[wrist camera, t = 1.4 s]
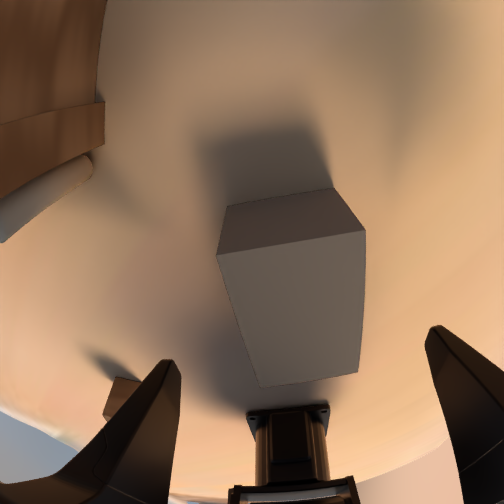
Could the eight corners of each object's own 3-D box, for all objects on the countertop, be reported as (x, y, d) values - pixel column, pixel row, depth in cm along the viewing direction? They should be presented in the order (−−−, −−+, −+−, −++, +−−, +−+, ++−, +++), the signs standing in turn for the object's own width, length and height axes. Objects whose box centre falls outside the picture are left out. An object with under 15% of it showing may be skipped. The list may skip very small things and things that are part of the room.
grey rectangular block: (340, 313, 15) (358, 371, 11) (259, 326, 15) (260, 387, 12) (333, 186, 11) (365, 230, 8) (227, 204, 12) (216, 255, 8)
